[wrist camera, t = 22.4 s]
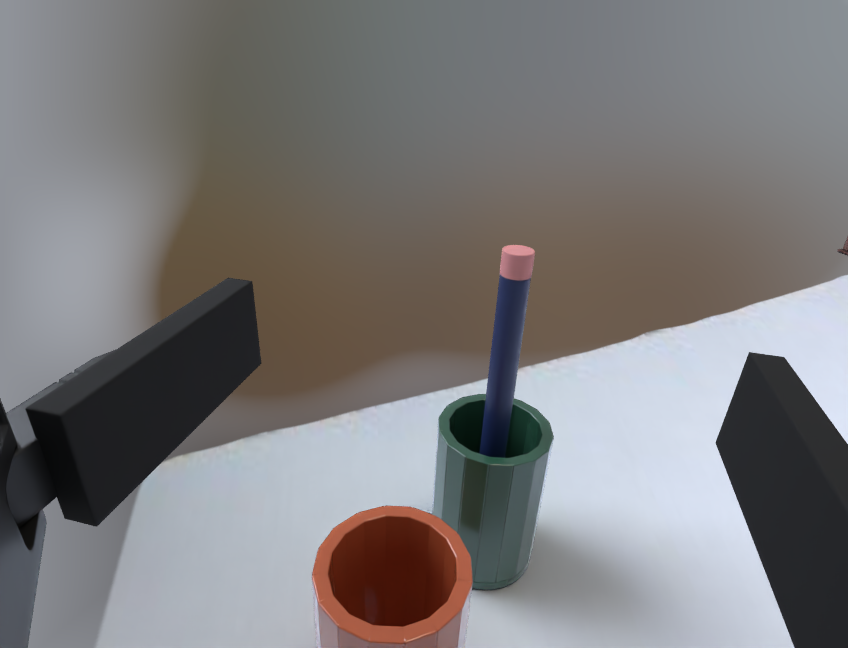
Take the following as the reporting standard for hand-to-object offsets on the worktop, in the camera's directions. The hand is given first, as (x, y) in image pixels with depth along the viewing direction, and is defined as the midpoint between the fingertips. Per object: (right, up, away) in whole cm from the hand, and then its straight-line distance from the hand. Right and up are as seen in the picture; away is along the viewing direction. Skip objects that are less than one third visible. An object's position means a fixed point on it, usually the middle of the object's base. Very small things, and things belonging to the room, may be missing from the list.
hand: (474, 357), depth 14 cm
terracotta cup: (-3, -16, +10) cm, 19 cm away
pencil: (+2, -12, +18) cm, 21 cm away
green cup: (+2, -13, +18) cm, 22 cm away
